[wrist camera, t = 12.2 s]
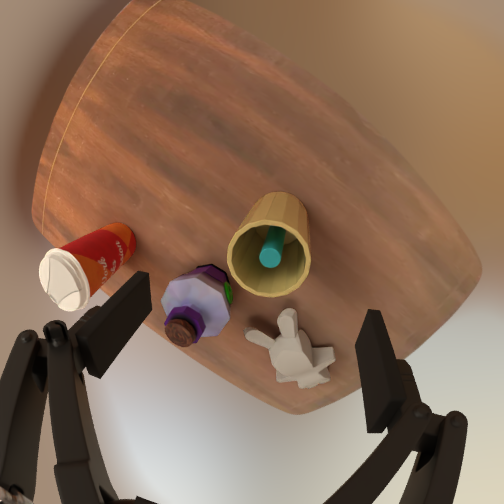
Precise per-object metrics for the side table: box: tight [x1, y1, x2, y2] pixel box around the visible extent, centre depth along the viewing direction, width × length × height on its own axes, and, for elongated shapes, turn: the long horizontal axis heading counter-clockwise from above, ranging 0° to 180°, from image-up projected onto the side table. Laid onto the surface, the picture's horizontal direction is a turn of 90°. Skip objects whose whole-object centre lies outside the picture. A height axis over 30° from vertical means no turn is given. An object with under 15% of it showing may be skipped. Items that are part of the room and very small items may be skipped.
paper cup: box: [39, 223, 136, 311], centre depth 33 cm, size 8×8×14 cm
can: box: [227, 192, 311, 298], centre depth 29 cm, size 7×7×12 cm
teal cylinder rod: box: [259, 225, 286, 268], centre depth 29 cm, size 2×2×11 cm
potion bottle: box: [161, 264, 233, 347], centre depth 34 cm, size 9×9×12 cm
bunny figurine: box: [243, 308, 336, 389], centre depth 39 cm, size 10×5×15 cm
